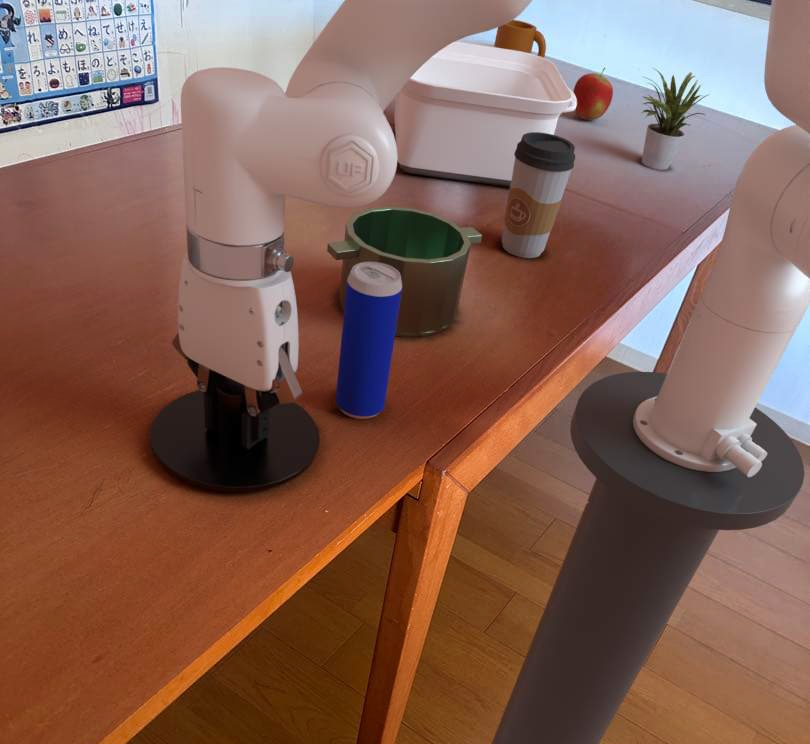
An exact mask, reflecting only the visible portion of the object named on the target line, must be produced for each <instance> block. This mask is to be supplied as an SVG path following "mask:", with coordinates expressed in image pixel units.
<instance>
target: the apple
mask: <svg viewBox="0 0 810 744" xmlns="http://www.w3.org/2000/svg"><path fill="white" fill-rule="evenodd" d="M605 69H606V67H603V69H602V72H601V73H600V74H599V73H585V74H583V75H582V76H581V77H579V78H578V79H577V81H576V82H575V85H574V88H573V90H572V92H573V93H574V94H575V96H576V99H577V106H576V109H575V110H574V113H575V114H576V116H577V117H578V118H580V119H582V120H587V121H594V120H598V119H600V118H601V117H602V116H604V114H606V113H607V111H608V110H609V107H610V106H611V103H612V100H613V96H614V89H613V85H612V83H611V82H610V80H609V79H607V78H606V76H603V73H604V71H605Z"/></svg>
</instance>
